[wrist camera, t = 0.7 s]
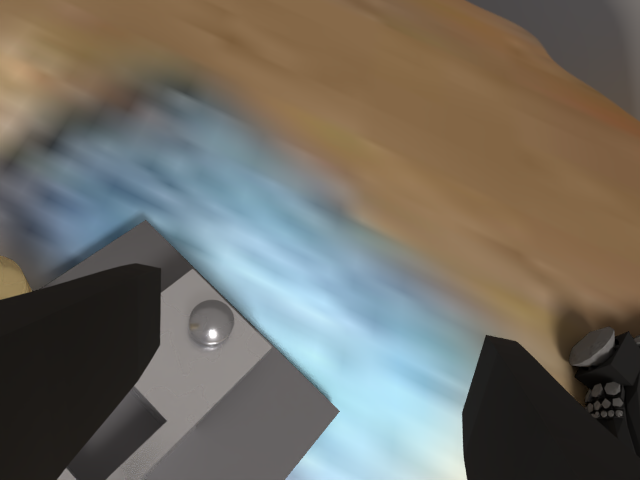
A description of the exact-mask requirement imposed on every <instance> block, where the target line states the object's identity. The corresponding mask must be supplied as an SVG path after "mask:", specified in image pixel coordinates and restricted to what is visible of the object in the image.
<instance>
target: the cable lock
mask: <svg viewBox="0 0 640 480" xmlns="http://www.w3.org/2000/svg"><path fill="white" fill-rule="evenodd" d="M569 363H570V364H571V365H573V366H581V367H580V369H579V370H578V372H577V374H576V375H575V378H577V379H578V380H579V381H580V382H582V383H583V384H584V385H586V386H587V387H588V388H590V389H591V390H592V391H591V390H590V389H589V391H588V393H587V395H586V397H585V402H586V403H587V402H589V404H588V406H587V407H586V406H585V409H586V410H587V411H588V412H589V413H590V414H591V415H592V416H593V417H594V418H595V419H596V420H597V421H598V422H599V423H601V424H602V425H603V426H604V427H605V428H606V429H607V430H608V431H609V432H611V433H612V434H613V435H614V436H615V437H616V438H617V439H618V440H620V441H621V442H622V443H623V444H624V445H625V446H626V447H627V448H629V449H630V450H631V451H632V452H633V453H635V454H636V455H637V456H638V457H639V458H640V335H638V336H636V337H635V338H633V337H632V336H631V334H630V333H629V331H628V332H626V333H624V334H621V335H619V336H616V337H615V335H614V329H612V328H611V327H605V328H602V329H599V330H595V331H592V332H589V333H588V334H587V335H586V336H585V337H584V338H583V339H582V340H581V341H579V342H578V343H577V344H576V345H575V346H574V347H573V348H572V350H571V353H570V358H569Z"/></svg>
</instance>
